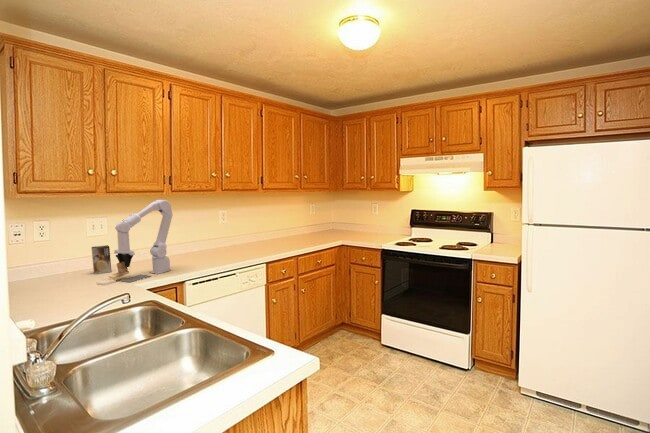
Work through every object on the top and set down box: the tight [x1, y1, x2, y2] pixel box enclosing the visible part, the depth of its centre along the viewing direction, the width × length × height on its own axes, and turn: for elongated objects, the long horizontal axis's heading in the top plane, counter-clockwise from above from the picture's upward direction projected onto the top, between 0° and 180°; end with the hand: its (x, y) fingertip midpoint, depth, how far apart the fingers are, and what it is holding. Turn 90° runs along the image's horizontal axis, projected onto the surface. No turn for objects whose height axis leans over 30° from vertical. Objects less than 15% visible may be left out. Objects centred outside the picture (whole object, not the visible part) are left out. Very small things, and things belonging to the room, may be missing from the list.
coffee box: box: [91, 244, 112, 275], centre depth 225 cm, size 9×6×16 cm
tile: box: [96, 278, 117, 286], centre depth 200 cm, size 2×6×7 cm
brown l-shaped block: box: [108, 261, 130, 280], centre depth 207 cm, size 9×4×7 cm, turn 154°
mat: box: [118, 274, 152, 283], centre depth 209 cm, size 14×9×1 cm, turn 155°
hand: (125, 266), depth 210 cm, fingers closed on brown l-shaped block, 3 cm apart
